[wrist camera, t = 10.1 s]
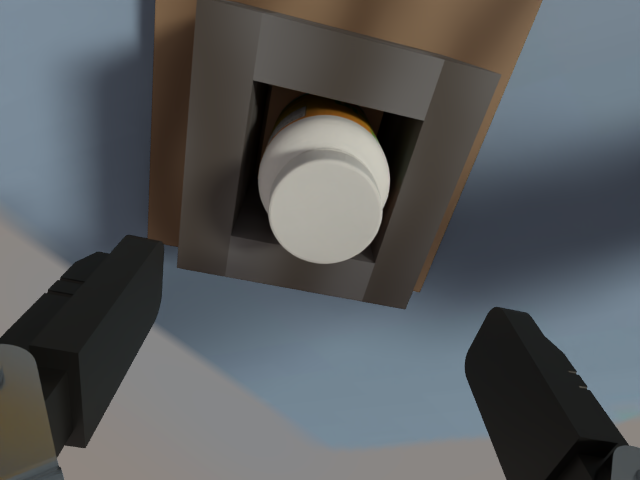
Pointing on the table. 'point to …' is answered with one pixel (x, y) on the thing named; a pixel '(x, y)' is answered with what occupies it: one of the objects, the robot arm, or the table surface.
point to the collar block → (335, 83)
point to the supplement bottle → (323, 179)
